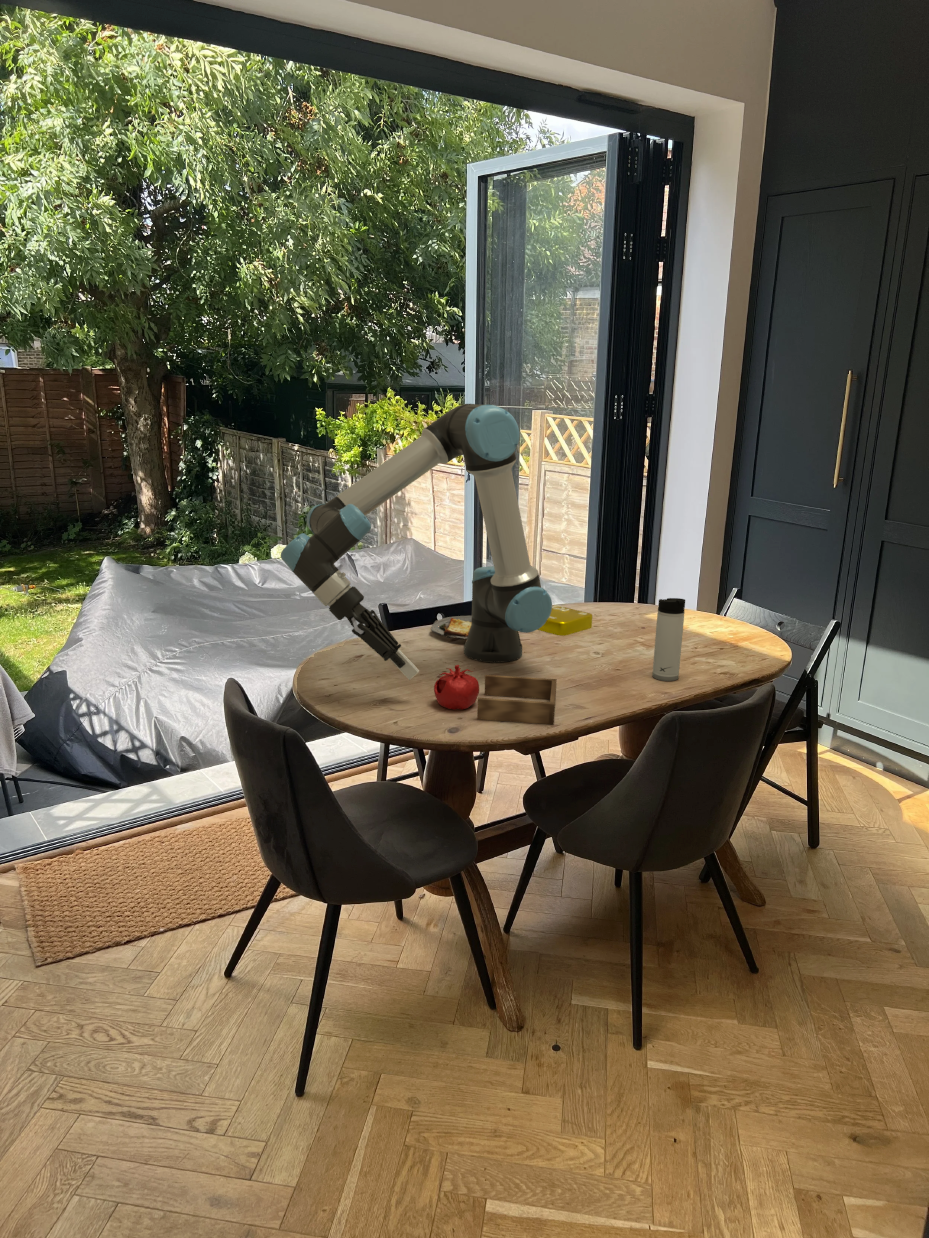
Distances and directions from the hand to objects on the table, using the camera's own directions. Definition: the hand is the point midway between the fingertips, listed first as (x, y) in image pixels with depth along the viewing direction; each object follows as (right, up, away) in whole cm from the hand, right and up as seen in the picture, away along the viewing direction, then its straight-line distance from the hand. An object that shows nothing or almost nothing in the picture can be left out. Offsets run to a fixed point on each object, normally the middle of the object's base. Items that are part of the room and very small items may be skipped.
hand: (414, 675), depth 193 cm
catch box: (+22, -7, -1) cm, 23 cm away
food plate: (+14, +8, +56) cm, 58 cm away
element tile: (+38, +10, +64) cm, 75 cm away
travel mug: (+60, -2, +22) cm, 64 cm away
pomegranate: (+9, -7, +1) cm, 11 cm away
